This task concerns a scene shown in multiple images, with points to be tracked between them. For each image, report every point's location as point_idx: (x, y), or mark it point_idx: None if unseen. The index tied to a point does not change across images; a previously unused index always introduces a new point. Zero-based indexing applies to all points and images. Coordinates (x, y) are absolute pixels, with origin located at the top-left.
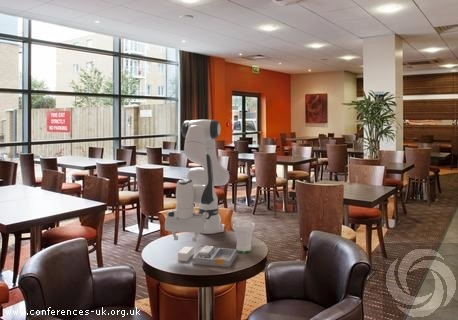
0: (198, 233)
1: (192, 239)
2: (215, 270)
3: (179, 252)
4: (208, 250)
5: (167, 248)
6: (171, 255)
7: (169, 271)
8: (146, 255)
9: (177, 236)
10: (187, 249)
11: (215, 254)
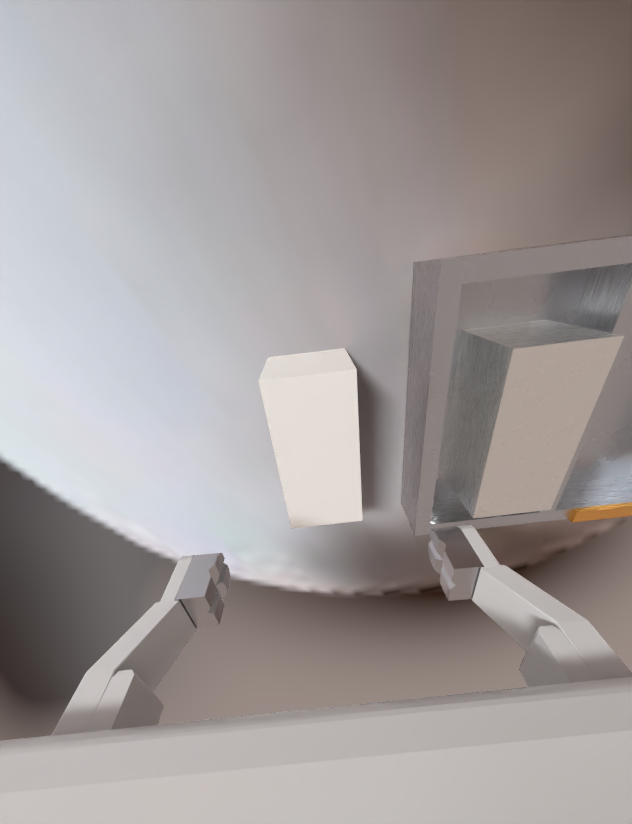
0: (597, 639)
1: (440, 582)
2: (540, 529)
3: (299, 519)
4: (550, 468)
5: (6, 268)
6: (194, 426)
7: (326, 590)
8: (38, 480)
9: (209, 609)
10: (329, 447)
11: (585, 439)
